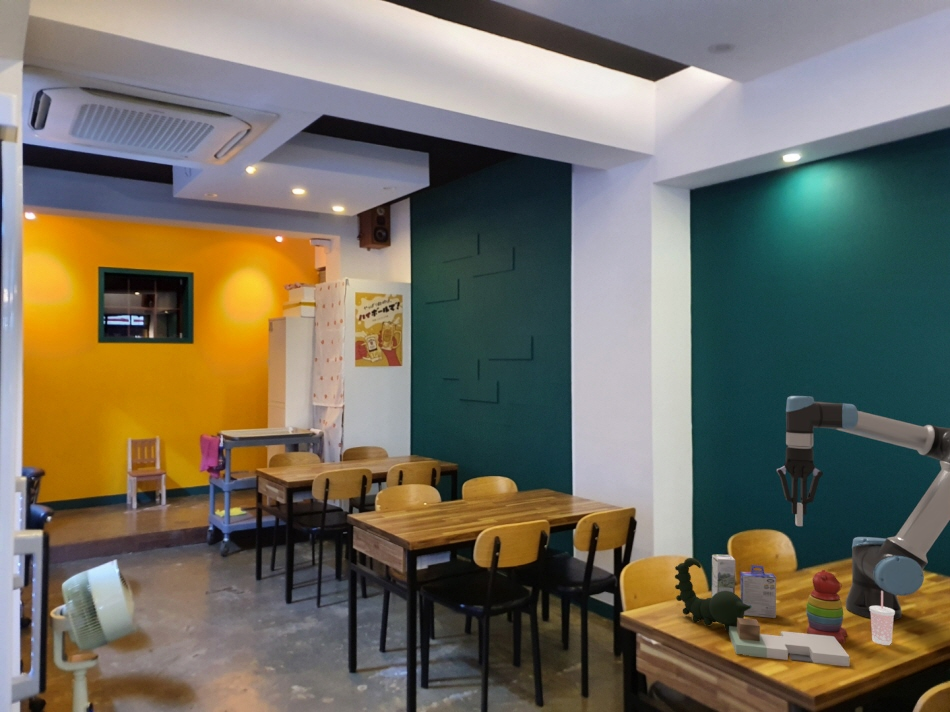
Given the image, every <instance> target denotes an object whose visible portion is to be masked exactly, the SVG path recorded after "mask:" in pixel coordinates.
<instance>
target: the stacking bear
mask: <svg viewBox="0 0 950 712" xmlns="http://www.w3.org/2000/svg"><path fill="white" fill-rule="evenodd" d="M842 584H843V583H841V581H840V580H838V579H837V577H836V576H835V574H833V573H832V572H830V571H829V572H828V571H826V569H822V570H821V571H818V572H816V573H815V574H814V575H813V577H812V586H813V588H814V590H812V591H811V592H810V594H809V595H808V598H807V602H806V610H805V611H806V617H807V623H808V626H807V629H806V633H807V634H815V635H825V636H834V637H835V638H836V640H837V641H838V642H839V644H840V645H841V644H844V643H846V638H845V637H846V636H848V632H847V629H845V628H844V627H842V624H843V620H844V609H843V604H842V601H841V597H840V595H839V594H838V593H839V592H840V591H841V589H842V588H843V585H842Z"/></svg>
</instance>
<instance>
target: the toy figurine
mask: <svg viewBox="0 0 950 712" xmlns="http://www.w3.org/2000/svg"><path fill="white" fill-rule="evenodd" d="M693 566H696V567H697V568H698V569H701V568H702V566H701V563H700V562H699V560H697V558H694V557H688V558H686V559H685V560H684V561H683V562H681V563H679V564H678V565H676V566H674V569H675V571H677V574H675V575H674V578H675V580H678V581H679V582H678V584H675V586H674V588H675V590H679V591H680V592H679V594H678V595H677V596H675V597H676V601H677V602H683V603H684V606H685V607H684V608H683V609H682V614H683V615H685V616H687V615H690V613H691V615H692V621H693V622H694V623H699V622H700V621H701V622H702V621H703V622H702V623H703V624H704V625H706V626H707V627H710V626H712V625H713V623H718V624H720V625H723V628H724V630H725V631H726V633H728V634H729V626H734V627H737V618H745V615H744V612H745V611H746V610H748V609H750V606H748V605H746V604H744V603H743V602H742V600H741V597H740V596H739V595H737V594H736V593H733V592H730V591H720V592H718V593H716V594H715V595H714V596H713V597H706V598H701V597H699V596H698V595H696V594H697V593H696V591H695V590H694V585H693V583H692V581H691V579H692V576H691V573H690V572H689V571H690V568H691V567H693Z"/></svg>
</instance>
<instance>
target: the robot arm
mask: <svg viewBox="0 0 950 712" xmlns="http://www.w3.org/2000/svg"><path fill="white" fill-rule="evenodd" d="M785 414H786V415H785V422H786V424H785V425H786V426H785V427H786V430H785V432H786V433H785V444H786V446H787V447H786V448H785V461H784V464H783V466H782V467H780V468H776V471H775V472H776V473H777V474H778V476H779V478H780V482H781V487H782V490H783V494H784V498H785V500H786V501H787V502H789V503H791V513H792V514H793V515H795V518H794V521H795V522H794V523H795V526H797V527H803V526H804V525H803V523H804V522H803V521H804V519H803V518H804V516H806V514H807V505H808V504H809V503H813V502H814V500H815V496H816V492H817V489H818V485H819V482H820V479H821V478H822V476H823V475H824V472H823V471H821V470H820V469H818V468H816V465H815V464H814V463H815V462H814V449H813V448H812V447H814V431H815V429H819V428H820V429H821V428H822V429H832V430H837V431H840V432H845V433H848V434H852V435H856V436H860V437H863V438H868V439H872V440H876V441H880V442H884V443H886V444H887V443H888V444H892V445H894V446H899V447H904V448H907V449H911V450H915V451H917V452H918V454H919V455H922V456H926V457H929V458H931V459H935V460H938V461H939V464H940V467H941V468H940V469H941V470H940V471H939V473H938V474H937V475H936V477H935V479H934V480H933V481H932V483H931V484H930V486H929V487H928V489H927V490H926V491H925V493H924V495H923V496H922V497H921V499H920V500H919V502H918V503H917V505H916V507H915V508H914V509H913V511H912V512H911V513H910V515H909V516H908V518H907V519H906V521H905V522H904V524H903V525H902V526H901V528H900V529H899V531H898V532H897V533H896V535H895V536H891V537H887V538H882V537H869V536H868V537H867V536H857V537H854V538H853V539H852V546H851V549H852V551H851V552H852V553H851V556H852V557H851V559H852V561H851V567H852V568H851V570H852V573H851V574H852V577H851V580H852V582H851V586H850V589H849V592H848V594H847V597H846V598H845V599H846V600H845V608H846V609H847V611H849V612H851V613H853V614H855V615H857V614H858V616H861V617H865V618H868V617H869V619H871V611H870V608H869V607H870V606H881V591H883V607H888V608H891V609H893V610H894V611H895V615H894V618H893V621H894V619H895V620H899V619H901V618H902V606H901V605H900V601H899V598H898V596H902V597H903V596H910V595H913V594H914V593H916V592H918V590H920V588H922V586H923V583H924V580H925V577H924V576H925V575H924V571H923V570H924V568H925V567H926V565H927V564H928V562H929V561H928V559H927V558H928V557H927V553H928V552H929V551H930V549H931V548H932V546H933V545H934V543H935V541H936V540H938V537H939V536H940V535H941V533H942V532H943V530H944V529H945V527H946V526H947V525H948V523H949V522H950V427H949V428H948V427H942V426H941V427H940V426H935V425H931V424H926V425H924V426H921V425H917V424H913V423H909V422H905V421H903V420H902V421H901V420H898V419H897V420H896V419H893V418H889V417H885V416H881V415H877V414H872V413H868V412H864V411H861V410H860V411H859V410H858V409H857V407H856V405H854V404H852V403H845V402H843V403H837V402H836V403H834V402H823V401H819V400H818V401H815V398H814V397H813V396H808V395H807V396H805V395H790V396H788V397H787V399H786V408H785ZM814 428H815V429H814ZM786 471H787V472H786ZM786 473H788V474H789V475H790V477H791V493H790V489H789V485H788V481H787V477H786ZM811 474H812V475H813V476H812V479H811V483H810V486H809V491H808V478H809V476H810V475H811ZM799 478H800V502H798V501H799V500H798V499H799V498H798V497H799V496H798V494H799V493H798V491H799V490H798V489H799V488H798V487H799V486H798V485H799ZM927 566H928V565H927Z"/></svg>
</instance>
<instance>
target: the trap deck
mask: <svg viewBox="0 0 950 712" xmlns="http://www.w3.org/2000/svg"><path fill="white" fill-rule="evenodd" d="M728 636H729V638H730V641H731V644H732V647H733V649H735V650H734V652H736V653H735V655H737V654H744V655H743V656H746V655H749V657H758V658H765V659H766V658H768V659H776V660H784V661H785V660H786V661H789V658H790V659H791V661H792V662H793V661H794V662H804V663H813V664H814V663H815V664H821V665H832V666H840V667H841V666H842V667H850V655H849V654H848V653H847V651H846V650H845V649H844V648H843V646H842V645H841V644H839V642H838V641H837V640H836V638H835V637H834V636H825V635H815V634H808V633H802V632H794V631H793V632H792V631H784V630H783V631H780V635H772V634H766V633H765V634H763V633H760V641H753V640H743V639H740V638H739V636H738V633H737V627H734V626H729V633H728ZM788 656H789V657H788Z"/></svg>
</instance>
